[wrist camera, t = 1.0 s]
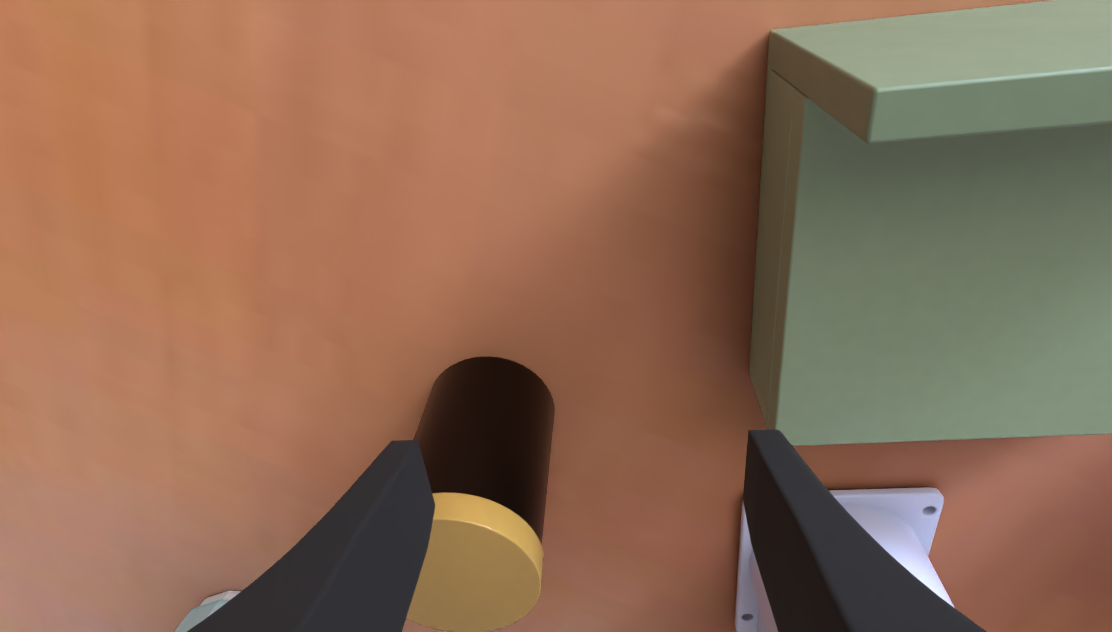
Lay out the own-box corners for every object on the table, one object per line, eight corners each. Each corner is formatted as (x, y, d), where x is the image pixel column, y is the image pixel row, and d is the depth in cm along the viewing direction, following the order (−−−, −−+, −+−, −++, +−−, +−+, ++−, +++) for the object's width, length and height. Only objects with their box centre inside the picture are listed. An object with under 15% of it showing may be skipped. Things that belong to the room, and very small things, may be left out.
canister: (562, 452, 27) (550, 633, 20) (441, 457, 27) (388, 634, 20) (549, 349, 24) (529, 516, 17) (415, 357, 24) (344, 521, 18)
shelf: (1152, 354, 23) (1395, 537, 16) (748, 374, 24) (808, 550, 17) (1325, -29, 16) (1843, -3, 10) (769, 29, 18) (874, 88, 11)
